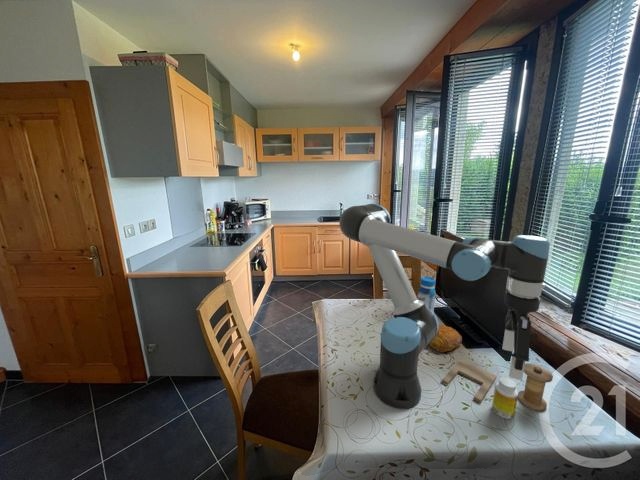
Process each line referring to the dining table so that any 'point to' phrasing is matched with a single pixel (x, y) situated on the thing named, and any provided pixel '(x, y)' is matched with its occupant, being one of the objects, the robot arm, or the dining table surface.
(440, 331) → the golden brown rounded loaf
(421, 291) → the beverage bottle
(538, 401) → the bobbin
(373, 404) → the dining table surface
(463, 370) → the notched board
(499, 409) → the supplement bottle
